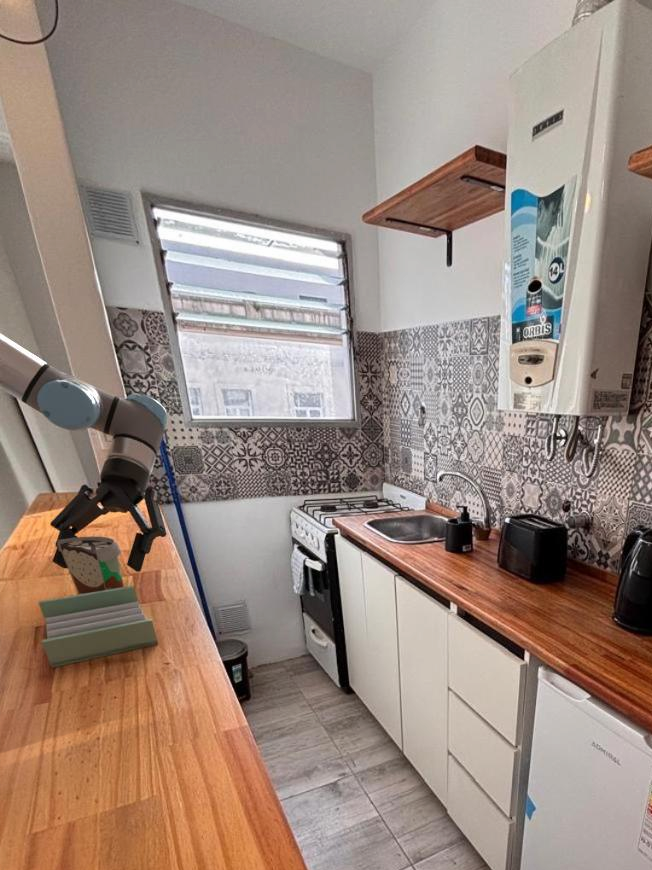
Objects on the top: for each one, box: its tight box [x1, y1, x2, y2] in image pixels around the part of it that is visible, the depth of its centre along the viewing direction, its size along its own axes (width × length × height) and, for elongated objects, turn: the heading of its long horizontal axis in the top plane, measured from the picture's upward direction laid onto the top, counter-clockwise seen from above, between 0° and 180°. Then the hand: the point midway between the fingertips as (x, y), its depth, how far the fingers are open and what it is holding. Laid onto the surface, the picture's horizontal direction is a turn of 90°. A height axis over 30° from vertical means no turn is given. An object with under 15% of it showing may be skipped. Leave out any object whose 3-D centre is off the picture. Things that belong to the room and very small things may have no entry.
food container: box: [56, 536, 125, 595], centre depth 94 cm, size 12×6×10 cm, turn 64°
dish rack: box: [38, 585, 159, 669], centre depth 80 cm, size 18×13×4 cm
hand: (96, 566), depth 93 cm, fingers open, 13 cm apart
